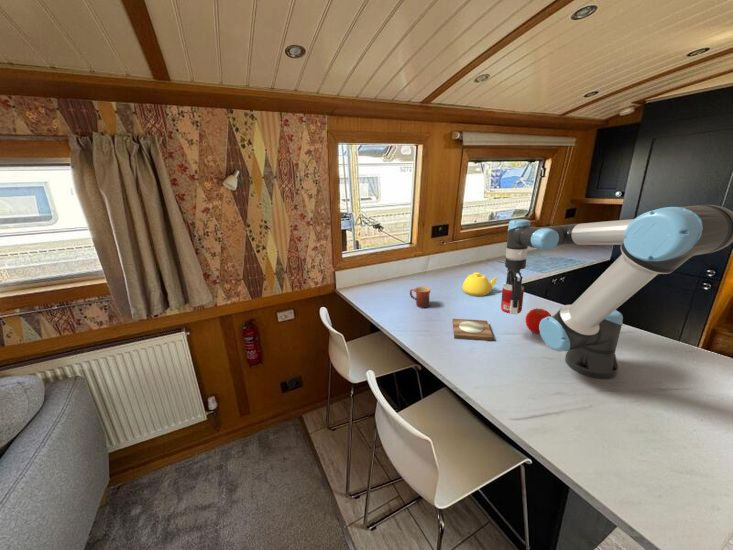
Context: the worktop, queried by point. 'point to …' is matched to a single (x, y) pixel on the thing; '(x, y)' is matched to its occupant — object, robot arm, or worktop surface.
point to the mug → (421, 296)
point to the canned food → (508, 295)
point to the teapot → (477, 285)
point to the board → (472, 329)
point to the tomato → (536, 319)
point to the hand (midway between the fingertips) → (511, 309)
